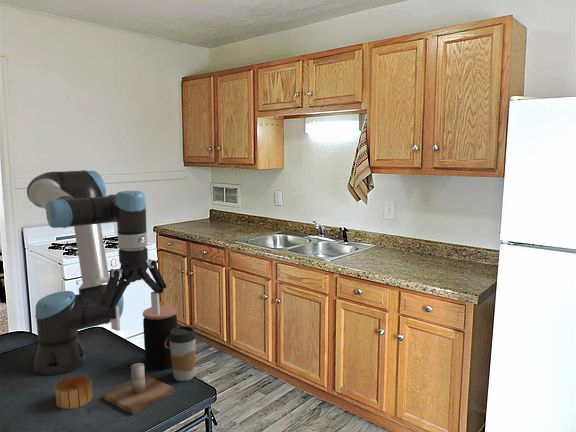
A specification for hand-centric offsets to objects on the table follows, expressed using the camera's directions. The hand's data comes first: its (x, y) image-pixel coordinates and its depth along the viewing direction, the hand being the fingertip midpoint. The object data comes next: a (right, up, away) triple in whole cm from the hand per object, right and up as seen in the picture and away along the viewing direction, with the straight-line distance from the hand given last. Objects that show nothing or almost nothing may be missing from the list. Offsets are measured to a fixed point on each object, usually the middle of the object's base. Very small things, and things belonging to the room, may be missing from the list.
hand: (136, 321), depth 129 cm
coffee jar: (+1, -19, +23) cm, 30 cm away
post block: (0, -22, +3) cm, 22 cm away
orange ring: (-18, -22, +1) cm, 28 cm away
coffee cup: (+10, -20, +13) cm, 26 cm away
